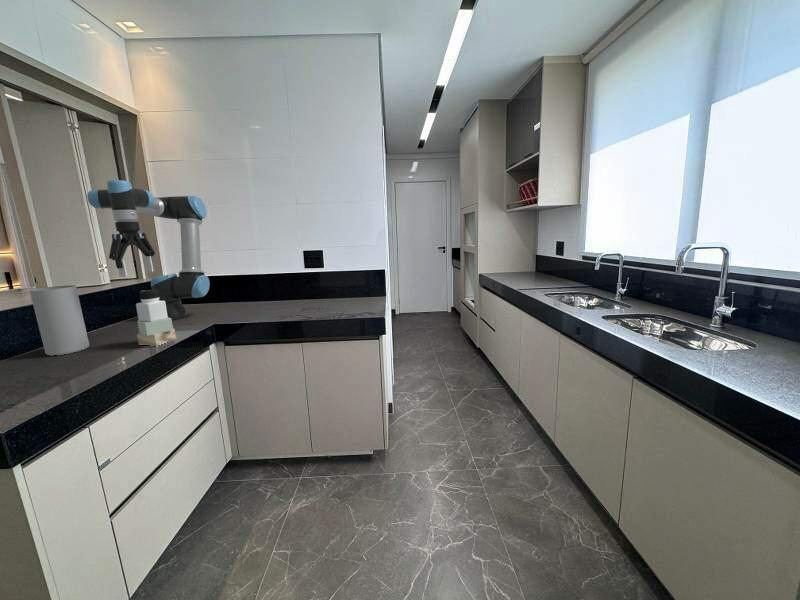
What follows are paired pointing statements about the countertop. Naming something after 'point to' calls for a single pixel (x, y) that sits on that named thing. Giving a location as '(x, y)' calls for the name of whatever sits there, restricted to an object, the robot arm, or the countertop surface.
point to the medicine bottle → (151, 306)
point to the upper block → (155, 326)
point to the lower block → (156, 338)
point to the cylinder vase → (60, 319)
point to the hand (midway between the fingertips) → (137, 274)
